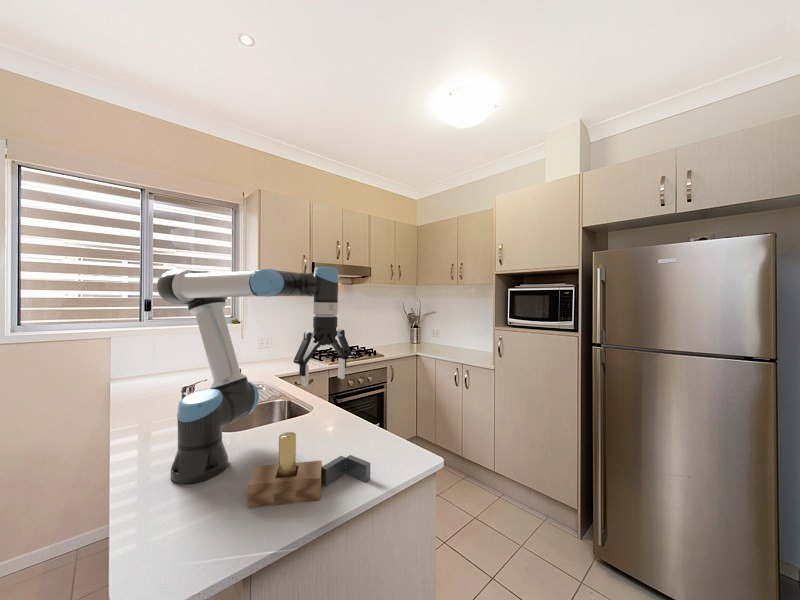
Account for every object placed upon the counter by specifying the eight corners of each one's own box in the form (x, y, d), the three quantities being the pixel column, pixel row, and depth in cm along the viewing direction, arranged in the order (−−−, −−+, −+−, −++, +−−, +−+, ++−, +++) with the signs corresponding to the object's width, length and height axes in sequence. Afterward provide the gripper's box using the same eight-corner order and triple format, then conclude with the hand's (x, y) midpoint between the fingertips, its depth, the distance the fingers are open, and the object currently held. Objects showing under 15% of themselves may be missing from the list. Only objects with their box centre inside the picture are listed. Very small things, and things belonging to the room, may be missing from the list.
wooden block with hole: (247, 508, 82) (247, 484, 82) (256, 487, 91) (256, 466, 91) (320, 500, 85) (320, 477, 85) (321, 480, 94) (321, 460, 94)
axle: (277, 499, 85) (277, 439, 85) (280, 489, 90) (280, 432, 89) (294, 497, 86) (294, 438, 86) (296, 487, 91) (296, 431, 90)
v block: (320, 487, 91) (321, 469, 91) (321, 473, 98) (322, 457, 98) (370, 482, 94) (370, 465, 94) (368, 469, 101) (368, 453, 101)
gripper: (295, 318, 90) (293, 392, 91) (363, 315, 109) (361, 377, 109) (282, 316, 96) (281, 386, 96) (349, 313, 114) (347, 373, 114)
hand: (323, 382), depth 103 cm, fingers open, 13 cm apart
